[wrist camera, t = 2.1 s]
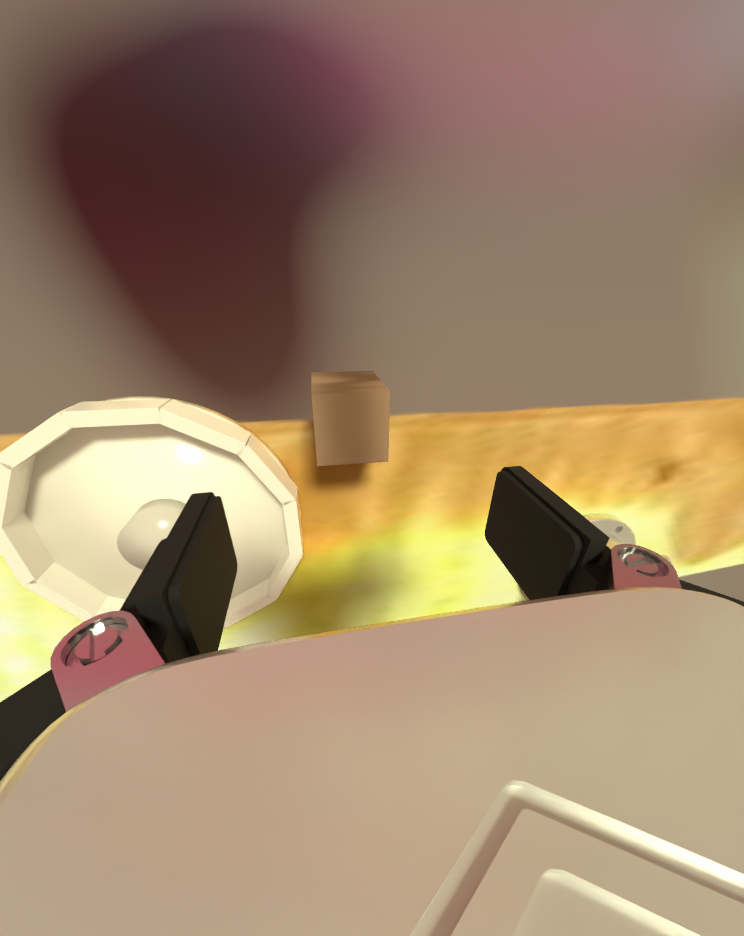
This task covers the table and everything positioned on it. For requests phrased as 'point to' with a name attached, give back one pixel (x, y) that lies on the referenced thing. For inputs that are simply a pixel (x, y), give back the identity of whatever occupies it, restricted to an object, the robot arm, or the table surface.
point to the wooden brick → (350, 417)
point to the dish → (140, 501)
